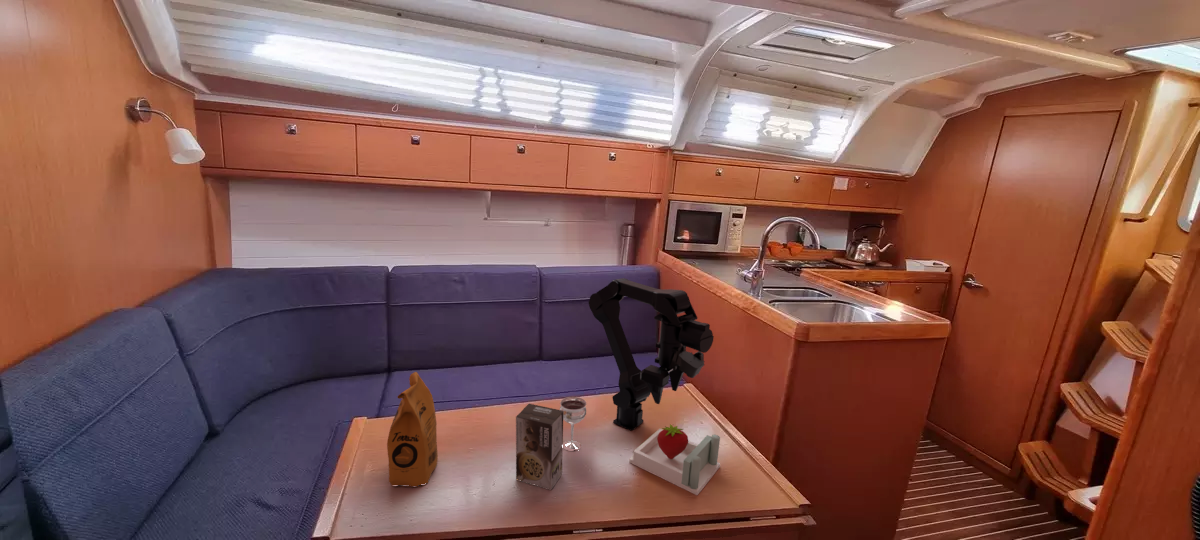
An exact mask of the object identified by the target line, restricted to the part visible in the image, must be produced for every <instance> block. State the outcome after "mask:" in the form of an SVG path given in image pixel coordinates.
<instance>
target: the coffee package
mask: <svg viewBox="0 0 1200 540" xmlns="http://www.w3.org/2000/svg"><path fill="white" fill-rule="evenodd" d="M408 379H409V381H408V382H409V387H408V388H407V389H405V390H404V391H402V392H401V393H400V394H398V395H397V399H400V402H399V404H398V407H397V409H396V413H395V414H394V418H393V419H392V422H391V425H390V428H389V433H388V436H387V442H386V449H387V458H388V459H387V460H388V482H389V484H390V485H391V486H392V485H409V486H408V487H412V486H418V485H421V484H425V483H427V482H428V483H429V481H430V478H431V475H432V473H433V472H434V471H435V470H436V467H437V465H438V460H439V458H438V457H439V455H438V442H437V441H438V440H437V424H438V423H437V417H436V408H435V402H434V399H433V395H432V393H431V390H430V389H429V387H428V386H427V385H426V383H425V382H424V380H423V379H422V378H421V376H420V375H419V373H418V372H417V371H414V372H412V373H411V374H410V375H409V378H408ZM428 480H429V481H428ZM428 483H427V484H428ZM418 487H419V486H418Z"/></svg>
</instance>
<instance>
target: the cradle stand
mask: <svg viewBox="0 0 1200 540" xmlns="http://www.w3.org/2000/svg"><path fill="white" fill-rule="evenodd" d="M662 430H663V429H662V428H658V429H657V430H656V431H655V432H654V433H653V434H651V435H650V436H649V437H648V438H647V439H645V441H643V443H641V444H640V445H638V447H636V448H635V449H634V450H633V454H632V456H631V457H629V458H628V459H629V460H628V461H629V464H632V465H634V466H636V467H638V468H640V469H642V470H644V471H646V472H649V473H650V474H653V475H655V476H657V477H659V478H661V479H663V480H665V481H666V482H669V483H670V484H673V485H674V486H677V487H679V488H681V489H682V490H685V491H688V492H689V493H691V494H693V495H695V496H698V495H699V494H700V492H702V490H703V489H704V487H705V486H706V485H707V484H708V483H709V481H710V480H711V479H712V478H713V476H714V475H715V474H716V473H717V471H718V470H719V469H720V467H721V463H720V462H718V458H719V457H718V456H719V450H720V442H721V441H720V440H721V437H720V435H717V434H712V435H711V436H710V435H708V434H707V435H706V436H705V437H704V438H703V439H702V440H701V441H700V442H699V443H695V442H693V441H690V440H689V439H688V444H687V446H686V448H685V450H683V451H682V452H681V453H680V454H679V455H677V456H676V457H675V458H673V459H669V458H668V457H667V456H666V455H665V454H664V453H663V451H662V450H661V448H660V447H659V445H658V440H657V437H658V434H659V433H660V432H661V431H662Z"/></svg>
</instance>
